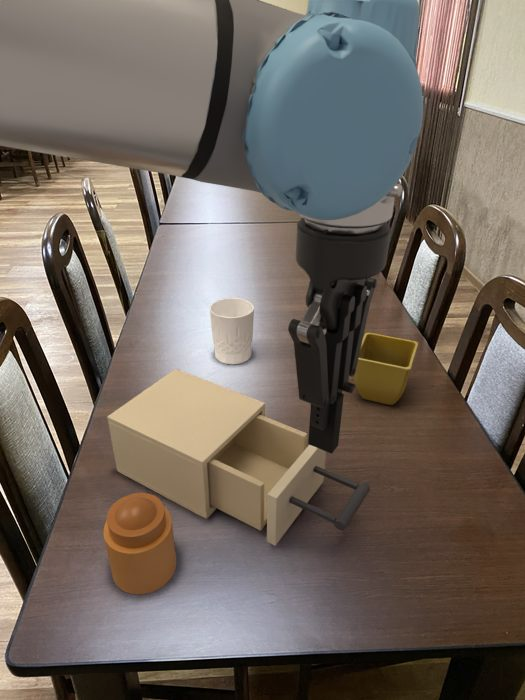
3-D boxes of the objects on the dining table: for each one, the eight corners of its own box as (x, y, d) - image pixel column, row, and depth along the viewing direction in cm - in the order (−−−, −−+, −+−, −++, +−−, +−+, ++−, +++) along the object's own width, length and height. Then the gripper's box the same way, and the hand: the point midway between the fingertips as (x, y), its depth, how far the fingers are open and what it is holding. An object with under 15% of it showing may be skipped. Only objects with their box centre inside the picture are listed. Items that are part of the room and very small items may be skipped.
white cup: (244, 370, 96) (243, 320, 91) (204, 361, 99) (202, 313, 93) (260, 349, 103) (260, 301, 97) (222, 341, 105) (220, 294, 100)
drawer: (374, 503, 68) (381, 457, 64) (330, 575, 59) (336, 527, 55) (234, 442, 78) (233, 398, 74) (179, 495, 69) (174, 449, 65)
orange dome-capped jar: (146, 606, 57) (135, 543, 52) (98, 574, 60) (83, 512, 55) (189, 558, 62) (183, 496, 57) (143, 531, 65) (133, 470, 60)
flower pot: (402, 416, 85) (410, 368, 80) (348, 403, 88) (353, 357, 83) (410, 386, 92) (418, 341, 87) (360, 376, 95) (365, 331, 90)
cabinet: (264, 456, 77) (265, 402, 72) (206, 519, 67) (202, 462, 62) (180, 419, 84) (175, 368, 79) (116, 471, 74) (106, 416, 69)
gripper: (353, 252, 37) (327, 499, 49) (416, 208, 46) (381, 424, 58) (260, 232, 40) (257, 467, 52) (337, 194, 50) (319, 401, 62)
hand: (323, 444), depth 55 cm, fingers closed
